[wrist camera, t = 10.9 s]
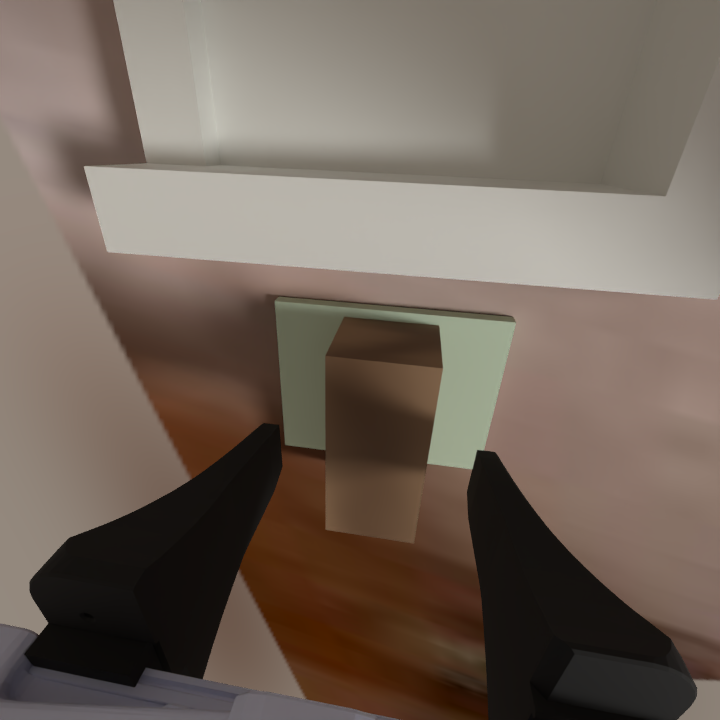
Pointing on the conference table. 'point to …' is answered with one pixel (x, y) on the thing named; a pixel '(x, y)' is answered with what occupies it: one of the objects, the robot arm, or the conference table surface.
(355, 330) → the bar
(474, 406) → the pad
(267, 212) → the frame
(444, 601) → the conference table surface
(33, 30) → the conference table surface
